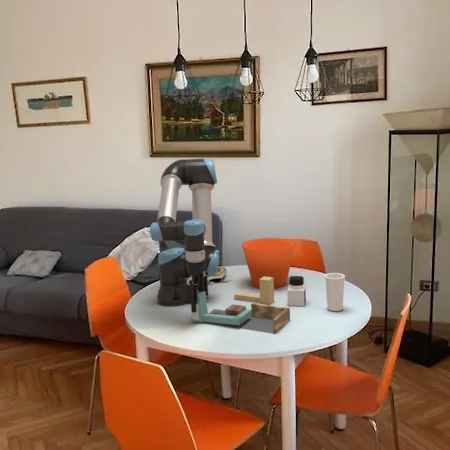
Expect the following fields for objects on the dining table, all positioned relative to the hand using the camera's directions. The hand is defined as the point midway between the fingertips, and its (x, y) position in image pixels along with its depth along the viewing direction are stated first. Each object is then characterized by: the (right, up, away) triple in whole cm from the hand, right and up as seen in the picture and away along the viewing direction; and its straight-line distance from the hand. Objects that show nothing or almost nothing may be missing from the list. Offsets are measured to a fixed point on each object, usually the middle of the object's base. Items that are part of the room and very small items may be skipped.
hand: (199, 316), depth 210 cm
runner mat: (+17, -2, -2) cm, 17 cm away
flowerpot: (+32, +8, +44) cm, 55 cm away
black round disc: (+6, -1, +5) cm, 8 cm away
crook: (+9, 0, -1) cm, 9 cm away
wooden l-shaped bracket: (+25, -2, -6) cm, 26 cm away
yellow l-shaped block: (+23, +3, +21) cm, 31 cm away
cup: (+55, +2, +7) cm, 56 cm away
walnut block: (+15, -1, 0) cm, 15 cm away
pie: (+1, +9, +60) cm, 60 cm away
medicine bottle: (+41, +3, +16) cm, 44 cm away
